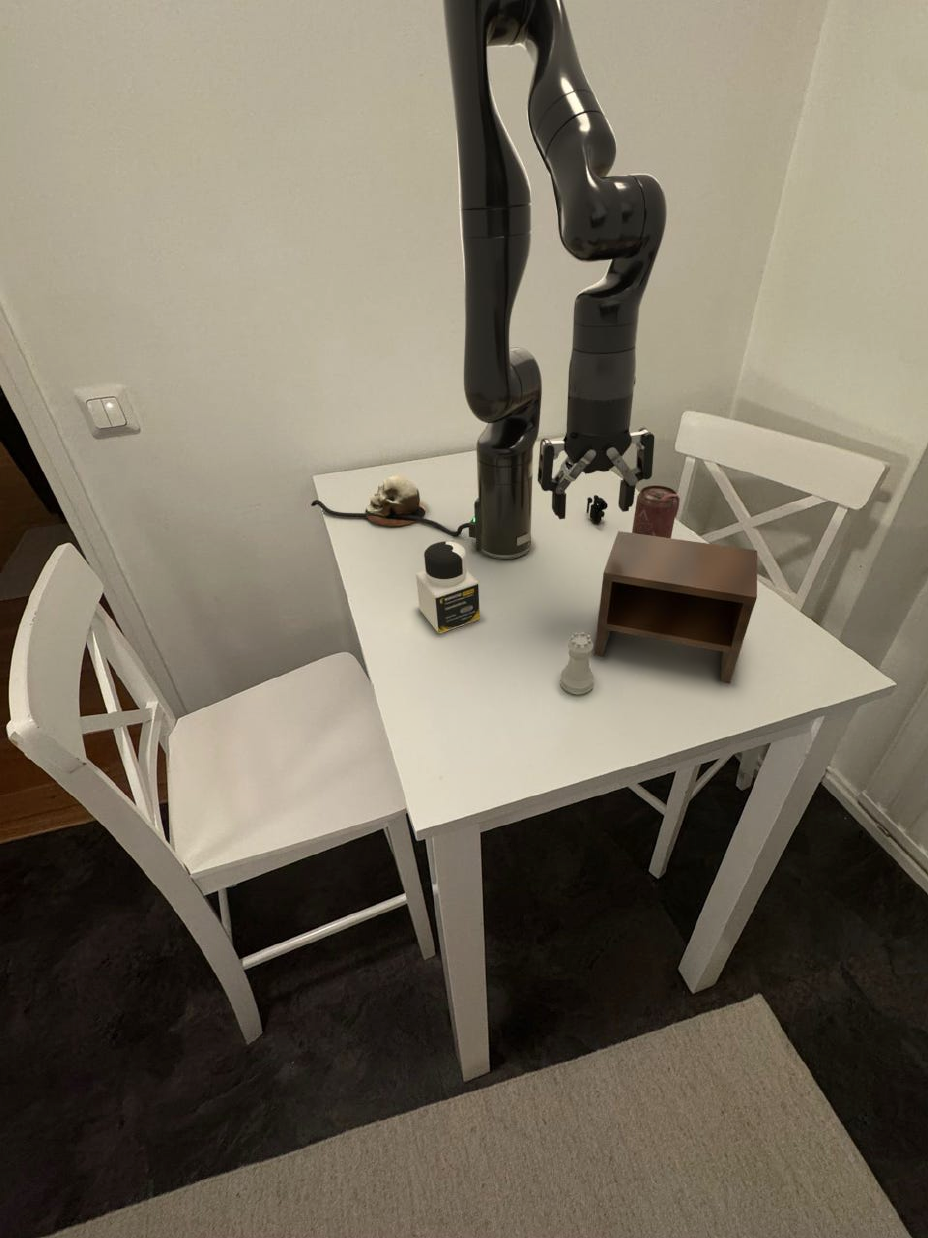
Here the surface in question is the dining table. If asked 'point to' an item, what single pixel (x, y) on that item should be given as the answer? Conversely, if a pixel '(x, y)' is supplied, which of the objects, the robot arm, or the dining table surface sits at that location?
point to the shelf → (679, 594)
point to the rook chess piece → (578, 665)
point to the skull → (395, 502)
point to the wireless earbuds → (596, 509)
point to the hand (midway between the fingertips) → (591, 512)
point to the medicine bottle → (447, 587)
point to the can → (655, 511)
